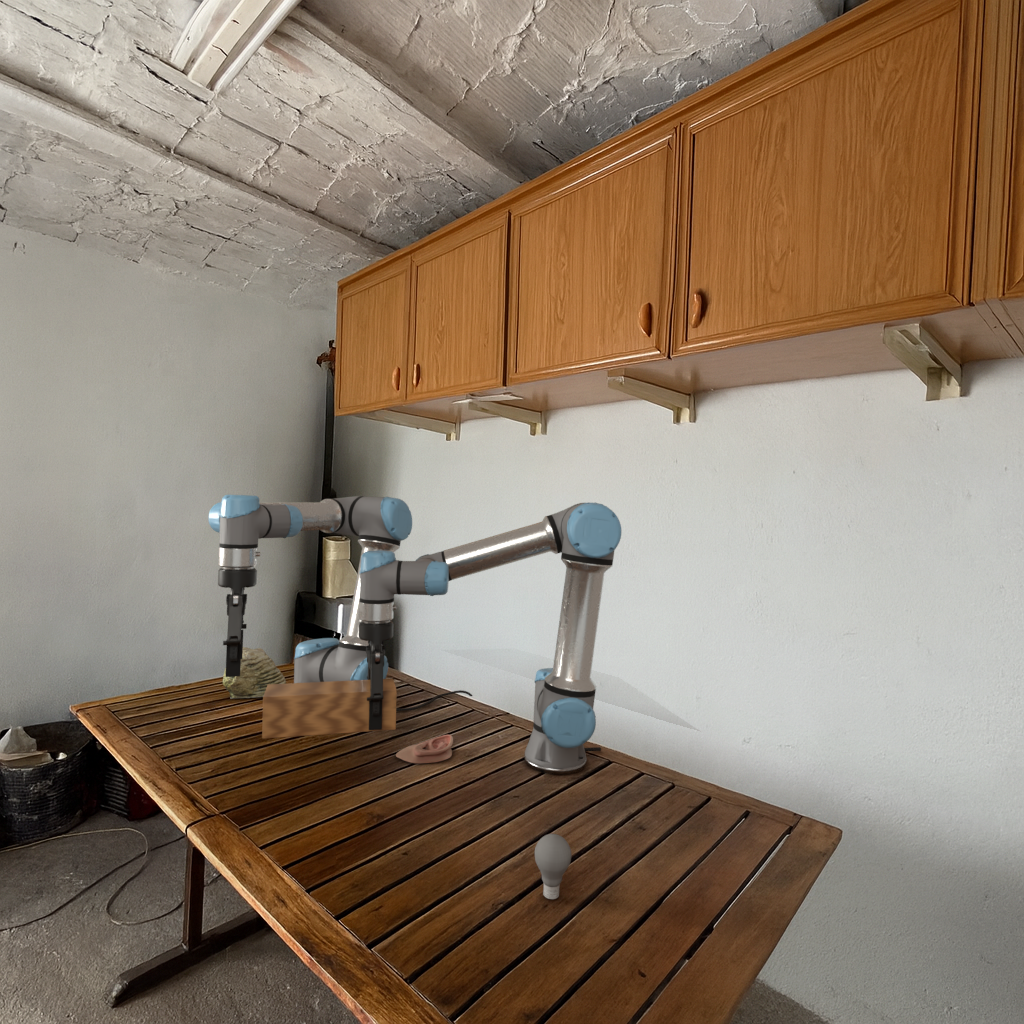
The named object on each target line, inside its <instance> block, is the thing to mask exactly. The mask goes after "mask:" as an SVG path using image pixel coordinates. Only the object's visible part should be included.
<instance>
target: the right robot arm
mask: <svg viewBox="0 0 1024 1024" xmlns="http://www.w3.org/2000/svg"><path fill="white" fill-rule="evenodd" d="M621 539H622V524H621V522H620V519H619V517H618V516H617V514H616V513H615V512H614V511H613V510H612V509H611V508H610V507H608V506H607V505H604V504H603V503H598V502H579V503H577V504H573V505H571V506H569V507H567V508H565V509H563V510H560V511H558V512H555V513H552V514H549V515H545V516H544V517H543V519H542V520H541V521H539V522H536V523H532V524H530V525H526V526H523V527H519V528H515V529H512V530H509V531H505V532H502V533H499V534H495V535H492V536H488V537H485V538H481V539H478V540H475V541H471V542H468V543H464V544H462V545H458V546H454V547H451V548H447V549H445V550H442V551H437V552H434V553H430V554H429V553H427V554H423V555H421V556H419V557H418V558H415V560H399V559H397V558H396V554H395V552H391V551H367V552H364V553H363V554H362V556H361V555H360V558H361V568H360V601H359V619H360V620H361V622H360V623H359V638H360V639H361V640H364V641H368V644H369V646H366V653H367V663H368V675H367V680H370V697H367V701H369V730H380V729H382V700H383V698H384V696H383V667H384V656H386V647H385V644H383V642H384V641H389V640H391V639H392V638H393V637H394V621H393V619H394V610H397V605H395V595H408V596H409V595H413V596H415V595H416V596H429V597H434V596H444V595H447V594H448V591H449V582H450V581H454V580H457V579H459V578H464V577H467V576H471V575H474V574H479V573H481V572H485V571H488V570H491V569H494V568H499V567H502V566H505V565H509V564H512V563H515V562H519V561H522V560H526V559H529V558H534V557H537V556H539V555H543V554H546V553H550V552H551V553H553V554H555V555H558V554H561V556H560V560H561V561H562V563H563V564H564V565H565V578H564V582H563V583H564V584H563V592H562V599H561V605H560V614H559V619H558V620H559V622H558V627H557V634H556V635H557V636H556V645H555V650H554V658H553V665H552V666H553V667H547V668H540V669H538V670H537V671H536V673H535V678H534V700H533V701H534V702H533V704H534V705H533V722H532V723H533V725H532V732H531V734H530V737H529V739H528V742H527V745H526V747H525V750H524V763H525V764H526V766H528V767H529V768H530V769H532V770H534V771H537V772H540V773H543V774H548V775H559V776H560V775H561V776H563V775H572V774H576V773H579V772H581V771H583V770H584V769H585V768H586V766H587V753H589V752H601V751H602V748H601V747H600V746H598V747H595V746H594V747H593V746H592V747H585V746H584V744H585V743H588V741H589V740H590V739H591V738H592V736H593V735H594V733H595V730H596V725H597V719H596V713H595V711H594V705H595V699H596V692H597V691H596V690H597V685H596V683H595V682H594V681H593V679H592V678H591V677H592V669H593V668H592V667H593V661H594V654H595V646H596V640H597V639H596V638H597V631H598V624H599V617H600V609H601V601H602V596H603V595H602V593H603V586H604V579H605V573H607V571H608V570H609V569H611V568H612V567H613V563H614V556H615V550H616V549H617V547H618V546H619V544H620V541H621ZM377 693H380V694H377ZM586 752H587V753H586Z"/></svg>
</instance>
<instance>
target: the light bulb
mask: <svg viewBox="0 0 1024 1024" xmlns="http://www.w3.org/2000/svg"><path fill="white" fill-rule="evenodd" d="M572 856H573V855H572V849H571V846H570V845H569V843H568V842H567V840H566V839H565V838H564V837H563V836H562V835H560V834H557V833H548V834H545V835H544V836H542V837H541V838H540V839H539V840H538V842H537V843H536V845H535V847H534V861H535V863H536V866H537V867H538V870H539V871H540V874H541V880H542V882H543V891H542V895H543V896H544V898H545V899H548V900H556V899H558V898H559V897H560V885H561V883H562V881H563V877H564V874H565V873H566V871H567V870H568V869H569V866H570V864H571V861H572Z"/></svg>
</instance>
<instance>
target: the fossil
mask: <svg viewBox="0 0 1024 1024" xmlns="http://www.w3.org/2000/svg"><path fill="white" fill-rule="evenodd" d="M222 676H223V677H222V685H223V687H224V688H225V690H226V691H228V693H229V698H230V699H250V698H263V696H264V693H265V691H266V688H267V685H268V684H287V680H286V678H285V676H284V674H283V673H282V672H281V669H279V668H278V667H277V665H276V663H275V662H274V660H273V659H272V658H271V657H270V656H269V655H268V654H267V653H266V652H265V650H264V649H263V648H260V647H258V648H251V647H247V646H246V647H245V646H243V654H242V659H241V669H240V676H235V677H226V667H224V671H223V675H222Z"/></svg>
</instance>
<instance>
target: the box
mask: <svg viewBox="0 0 1024 1024" xmlns="http://www.w3.org/2000/svg"><path fill="white" fill-rule="evenodd" d="M377 694H380V693H377ZM397 694H398V693H397V686H396V683H395V680H394V678H385V679H383V696H384V698H383V700H382V729H380V730H369V701H367V697H370V680H352V681H331V682H310V683H294V682H293V683H292V682H291V683H290V682H289V683H286V684H268V685H267V688H266V691H265V693H264V696H263V697H262V729H261V730H262V731H261V732H262V733H261V734H262V735H261V739H262V740H263V739H278V738H292V737H293V738H294V737H306V736H307V737H308V736H321V735H336V734H337V735H338V734H348V733H364V732H377V731H378V732H379V731H380V732H381V731H394V730H396V729H397V711H396V709H397Z"/></svg>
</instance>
